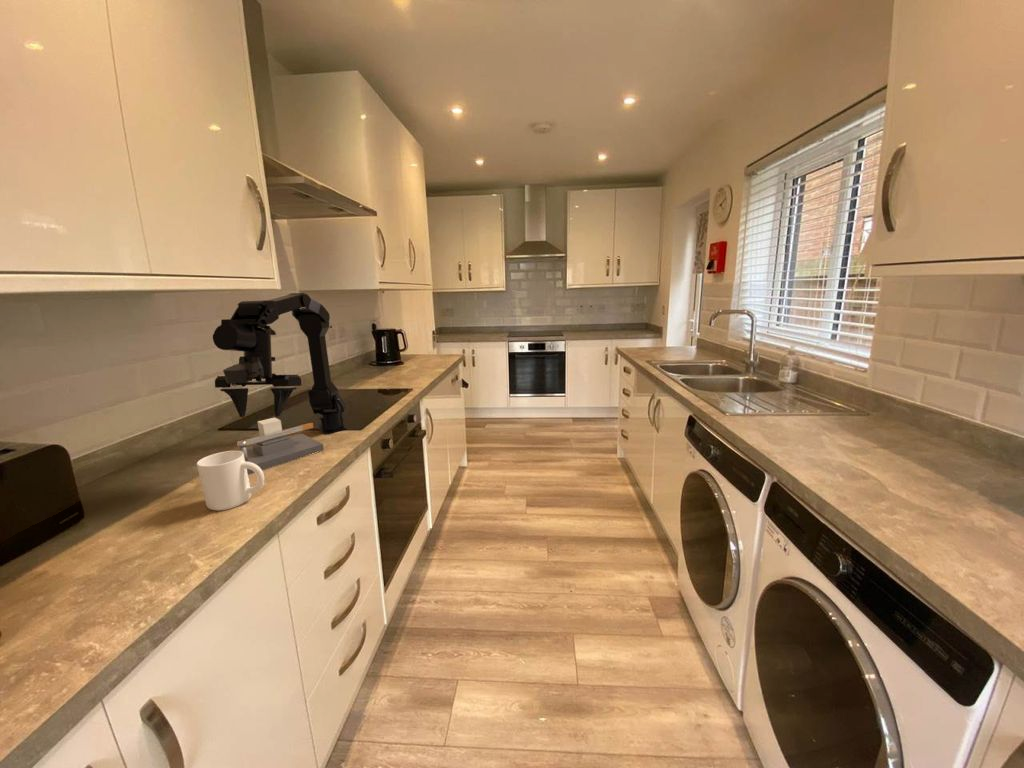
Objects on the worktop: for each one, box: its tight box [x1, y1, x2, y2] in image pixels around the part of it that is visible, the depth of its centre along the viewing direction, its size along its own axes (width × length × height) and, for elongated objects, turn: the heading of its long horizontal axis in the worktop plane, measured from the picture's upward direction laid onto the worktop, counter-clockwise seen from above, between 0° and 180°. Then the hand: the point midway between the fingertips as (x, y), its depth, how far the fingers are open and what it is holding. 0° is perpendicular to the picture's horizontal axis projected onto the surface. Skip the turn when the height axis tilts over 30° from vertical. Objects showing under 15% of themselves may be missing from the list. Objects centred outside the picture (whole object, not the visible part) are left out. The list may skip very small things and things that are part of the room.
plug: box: [253, 417, 291, 445], centre depth 113 cm, size 7×7×8 cm
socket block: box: [237, 432, 325, 476], centre depth 113 cm, size 20×15×6 cm
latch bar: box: [236, 422, 315, 448], centre depth 111 cm, size 19×2×1 cm, turn 139°
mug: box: [196, 450, 265, 512], centre depth 88 cm, size 12×8×10 cm
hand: (259, 416), depth 99 cm, fingers open, 9 cm apart
